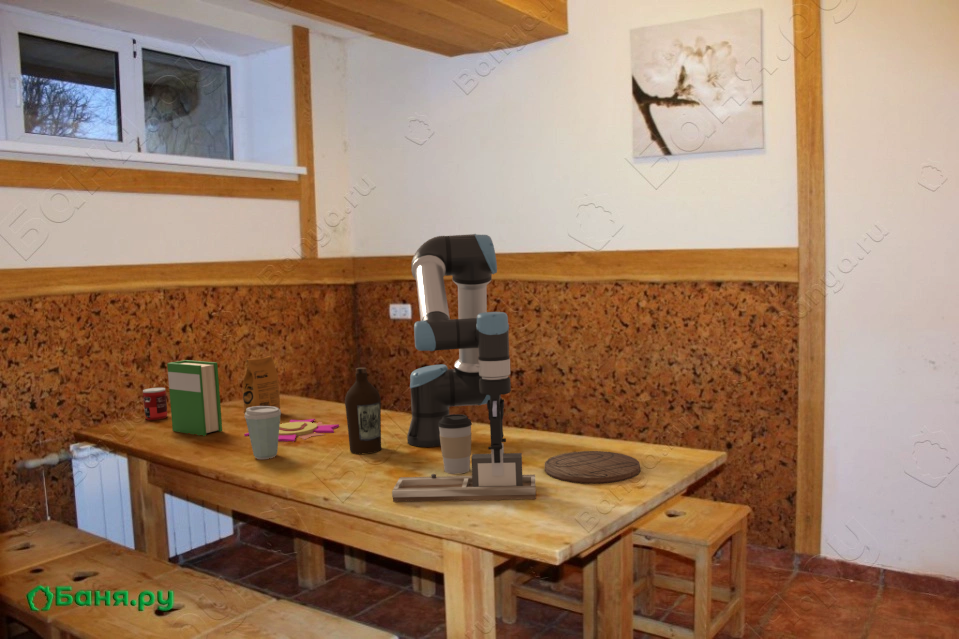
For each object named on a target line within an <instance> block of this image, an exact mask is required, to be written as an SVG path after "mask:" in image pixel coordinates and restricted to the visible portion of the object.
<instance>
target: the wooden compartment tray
mask: <svg viewBox="0 0 959 639" xmlns="http://www.w3.org/2000/svg"><path fill="white" fill-rule="evenodd" d="M522 476H523V486H497V487H473V485H472V475H459V476H458V475H452V476H451V475H449V476H448V475H447V476H437V473H436V474H435V473H432V474H431V476H406V477H405V476H401V477H399V478H398V480H397V482H396V483H395V485H394V487H393V488H392V491H391V498H392V502H395V503H396V502H436V501H437V502H442V501H443V502H446V501H448V502H450V501H486V500H487V501H489V500H491V501H493V500H496V501H497V500H498V501H499V500H503V501H504V500H536V499H537V497H536V495H537V494H536V491H537V490H536V487H537V486H536V474H522Z"/></svg>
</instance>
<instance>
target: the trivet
mask: <svg viewBox="0 0 959 639" xmlns="http://www.w3.org/2000/svg"><path fill="white" fill-rule="evenodd" d="M544 472H545V474H546V475H547V476H549V477H551V478H552V479H556V480H558V481H561V482H562V481H563V482H566V483H571V484H583V485H601V484H604V485H605V484H614V483H618V482H624V481H626V480H629V479H633V478H635V477H636V476H638V475H639V474H640V472H641V462H640V461H639V459H636V457H632V456H631V455H628V454H623V453H619V452H612V451H604V450H602V451H601V450H584V451H572V452H564V453H560V454H557V455H554V456H552V457H550V458H548V459H547V460H545V461H544Z"/></svg>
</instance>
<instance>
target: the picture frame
mask: <svg viewBox="0 0 959 639" xmlns="http://www.w3.org/2000/svg"><path fill="white" fill-rule="evenodd" d="M522 454H523V453H522V452H513V453H511V452H508V453H507V452H504V453H503V469H504V476H492V456H491V453H473V454H472V453H471V457H470V463H471V476H472V485H473V487H497V486H523V476H522V475H523V456H522Z"/></svg>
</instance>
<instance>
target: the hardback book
mask: <svg viewBox="0 0 959 639" xmlns="http://www.w3.org/2000/svg"><path fill="white" fill-rule="evenodd" d="M166 366H167V378H168V388H169V389H168V390H169V402H170V404H169V405H170V414H171V425H172V426H171V428H172V431H173V432H175V433H177V432H178V433H183V434H188V433H190V434H189V435H194V434H197V435H196V436H200V435H203V436H202V437H205V435H206V436H207V434H209V433H212V432H217V431H219V433H222V432H223V420H222V409H221V406H222V405H221V397H220V396H221V395H220V392H221V391H220V381H219V380H220V379H219V369H218V367H219V366H218V362H217V361H216V362H215V361H200V360H191V359H190V360H188V359H186V360H177V361H172V362H167V364H166ZM221 431H222V432H221Z"/></svg>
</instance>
